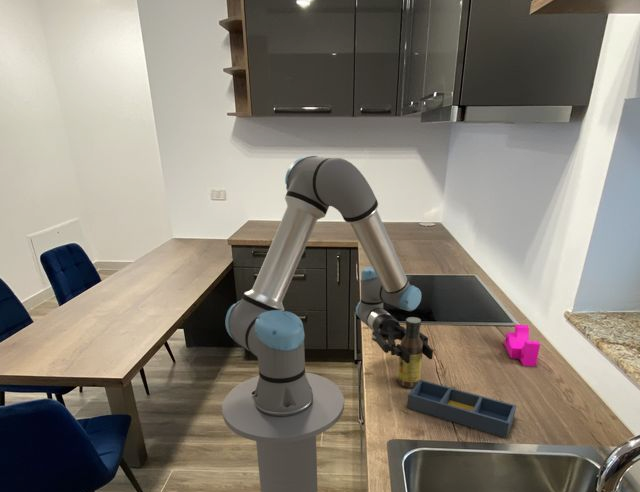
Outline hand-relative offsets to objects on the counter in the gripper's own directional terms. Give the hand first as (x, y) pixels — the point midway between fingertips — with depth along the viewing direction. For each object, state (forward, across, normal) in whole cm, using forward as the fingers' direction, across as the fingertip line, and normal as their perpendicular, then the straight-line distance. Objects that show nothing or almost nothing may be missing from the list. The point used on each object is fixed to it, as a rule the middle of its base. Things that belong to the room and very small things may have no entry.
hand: (420, 356), depth 118 cm
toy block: (-9, -42, -11) cm, 45 cm away
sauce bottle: (-5, 0, -11) cm, 12 cm away
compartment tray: (+13, -5, -11) cm, 18 cm away
